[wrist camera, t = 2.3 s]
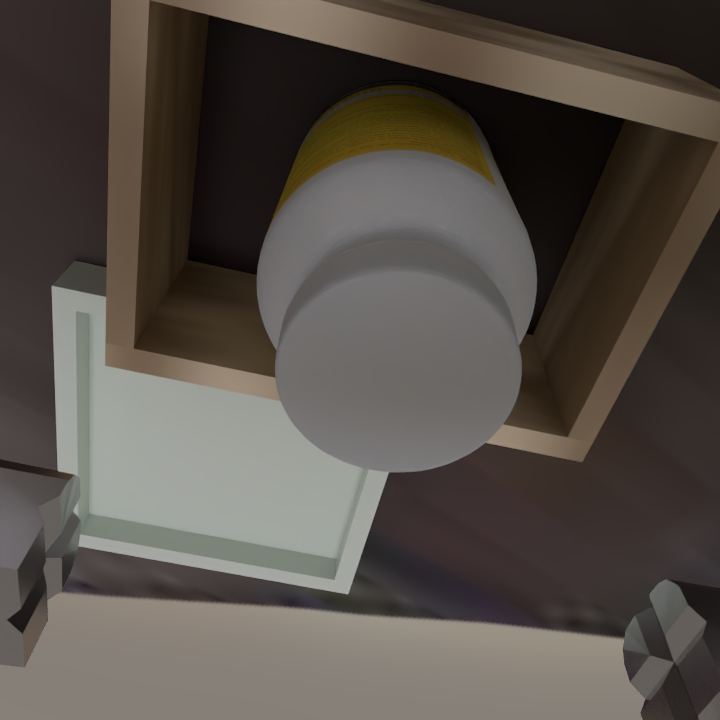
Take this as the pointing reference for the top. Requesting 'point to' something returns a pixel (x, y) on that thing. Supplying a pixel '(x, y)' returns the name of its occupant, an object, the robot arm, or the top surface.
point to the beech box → (445, 55)
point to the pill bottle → (396, 282)
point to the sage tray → (197, 464)
